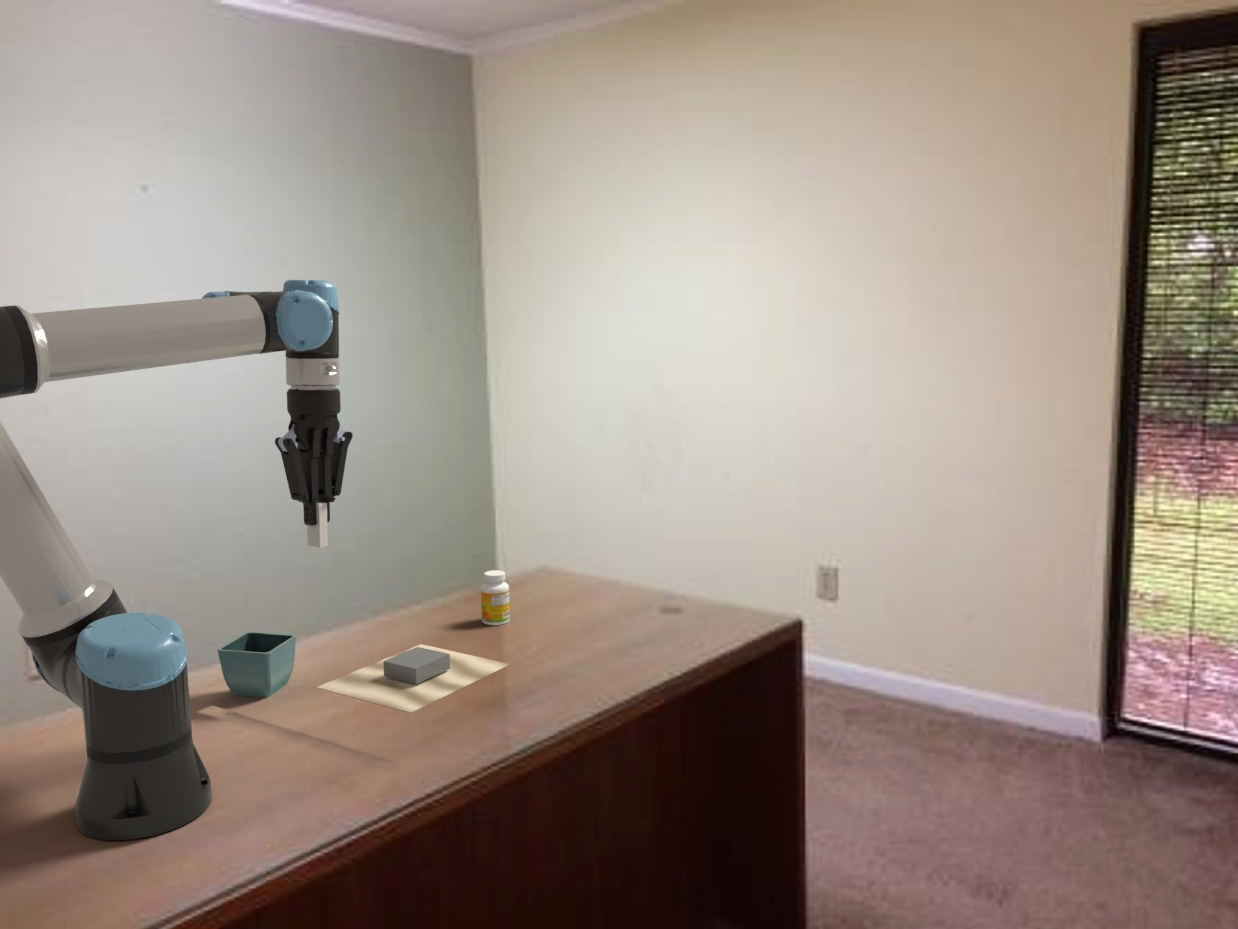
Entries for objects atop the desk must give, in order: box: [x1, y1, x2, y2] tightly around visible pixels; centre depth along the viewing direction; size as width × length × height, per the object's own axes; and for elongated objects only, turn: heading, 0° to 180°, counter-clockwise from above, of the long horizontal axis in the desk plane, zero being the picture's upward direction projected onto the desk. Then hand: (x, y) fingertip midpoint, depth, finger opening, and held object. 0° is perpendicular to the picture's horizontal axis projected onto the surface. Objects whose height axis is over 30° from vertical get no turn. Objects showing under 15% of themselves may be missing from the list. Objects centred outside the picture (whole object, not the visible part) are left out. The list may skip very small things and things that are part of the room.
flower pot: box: [217, 631, 297, 698], centre depth 162 cm, size 9×9×9 cm
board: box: [316, 643, 511, 714], centre depth 168 cm, size 24×20×1 cm
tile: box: [383, 647, 450, 684], centre depth 168 cm, size 3×7×8 cm
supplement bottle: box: [480, 569, 511, 626], centre depth 199 cm, size 5×5×10 cm
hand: (317, 545), depth 154 cm, fingers closed
